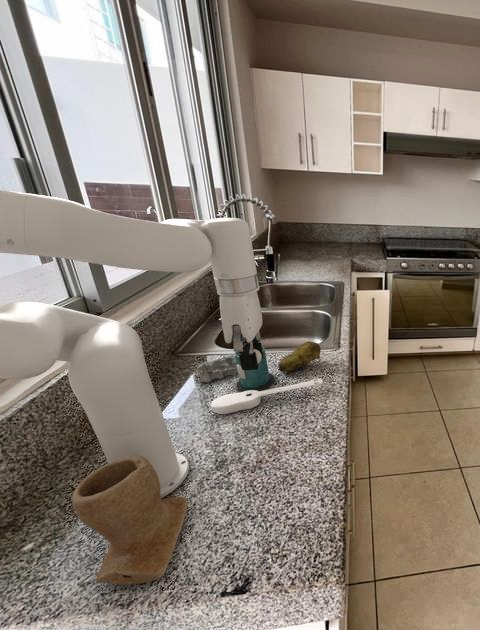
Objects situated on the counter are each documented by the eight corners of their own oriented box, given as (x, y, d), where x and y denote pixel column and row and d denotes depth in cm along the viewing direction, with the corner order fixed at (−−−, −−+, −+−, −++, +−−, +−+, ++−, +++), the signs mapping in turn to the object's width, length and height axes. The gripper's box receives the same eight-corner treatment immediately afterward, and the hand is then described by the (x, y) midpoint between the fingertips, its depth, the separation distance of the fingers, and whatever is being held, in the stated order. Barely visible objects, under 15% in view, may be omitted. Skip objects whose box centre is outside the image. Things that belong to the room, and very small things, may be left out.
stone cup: (123, 513, 62) (94, 450, 56) (197, 498, 65) (177, 437, 59) (70, 608, 49) (26, 537, 43) (167, 583, 52) (138, 515, 46)
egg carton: (200, 385, 99) (197, 373, 98) (198, 373, 105) (195, 361, 103) (241, 374, 105) (238, 362, 103) (237, 363, 110) (234, 352, 109)
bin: (240, 390, 96) (233, 359, 92) (241, 376, 102) (235, 346, 98) (269, 385, 99) (264, 354, 95) (269, 371, 105) (264, 342, 101)
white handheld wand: (321, 383, 102) (321, 375, 101) (325, 394, 97) (324, 385, 96) (214, 405, 91) (211, 396, 90) (211, 418, 86) (209, 409, 85)
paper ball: (260, 368, 73) (257, 353, 72) (242, 369, 73) (239, 354, 71) (264, 359, 76) (262, 345, 75) (247, 360, 76) (244, 346, 74)
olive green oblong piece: (280, 363, 111) (276, 341, 108) (321, 358, 115) (319, 336, 112) (279, 377, 104) (275, 354, 101) (323, 370, 108) (321, 348, 105)
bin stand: (270, 391, 97) (270, 389, 97) (232, 394, 95) (232, 392, 95) (277, 372, 106) (276, 370, 106) (242, 375, 104) (242, 373, 104)
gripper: (231, 272, 74) (246, 347, 81) (198, 298, 59) (220, 387, 66) (268, 271, 75) (279, 345, 83) (244, 297, 60) (261, 384, 67)
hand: (253, 363), depth 74 cm, fingers closed on paper ball, 3 cm apart
